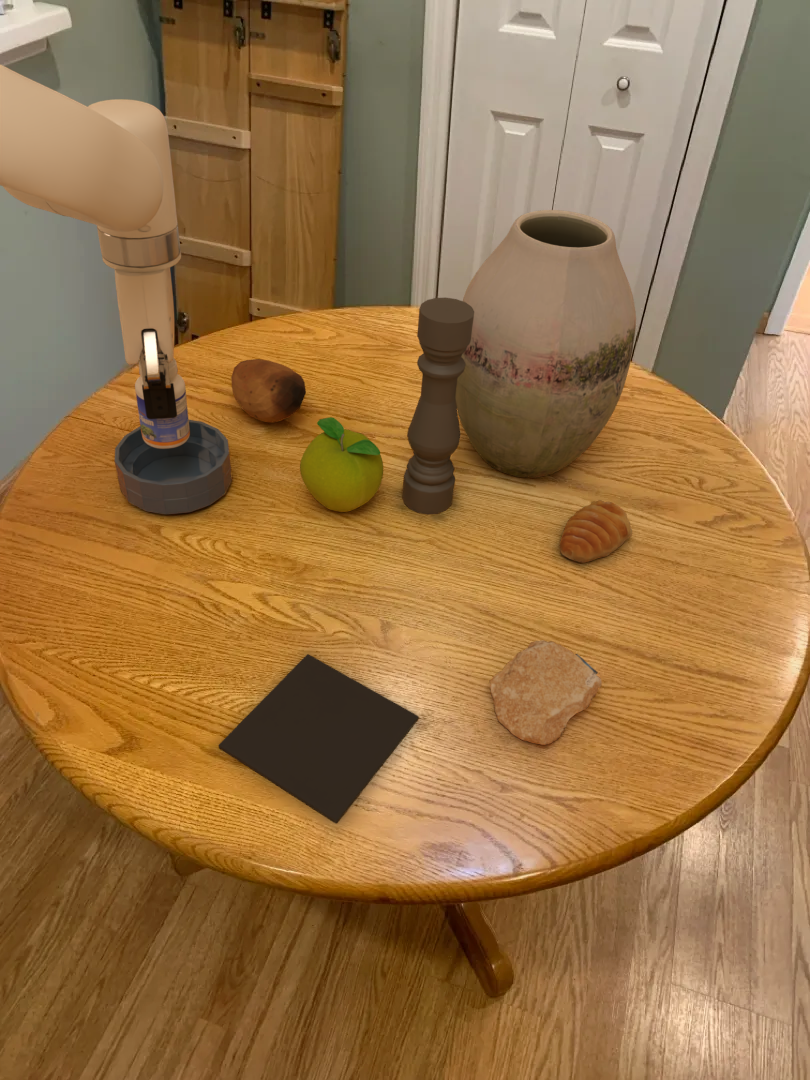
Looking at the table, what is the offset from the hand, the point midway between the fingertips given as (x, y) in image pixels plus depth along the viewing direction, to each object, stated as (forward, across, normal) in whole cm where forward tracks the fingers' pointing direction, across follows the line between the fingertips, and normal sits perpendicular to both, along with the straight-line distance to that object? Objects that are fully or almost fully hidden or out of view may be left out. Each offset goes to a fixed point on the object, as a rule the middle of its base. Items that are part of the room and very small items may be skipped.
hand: (161, 400), depth 94 cm
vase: (+12, -1, +45) cm, 47 cm away
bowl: (+12, -1, 0) cm, 12 cm away
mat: (+13, +38, +12) cm, 42 cm away
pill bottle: (+5, 0, 0) cm, 5 cm away
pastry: (+12, +17, +48) cm, 52 cm away
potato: (+12, -14, +12) cm, 22 cm away
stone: (+12, +38, +34) cm, 53 cm away
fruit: (+12, +6, +20) cm, 24 cm away
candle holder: (+12, +6, +30) cm, 33 cm away
